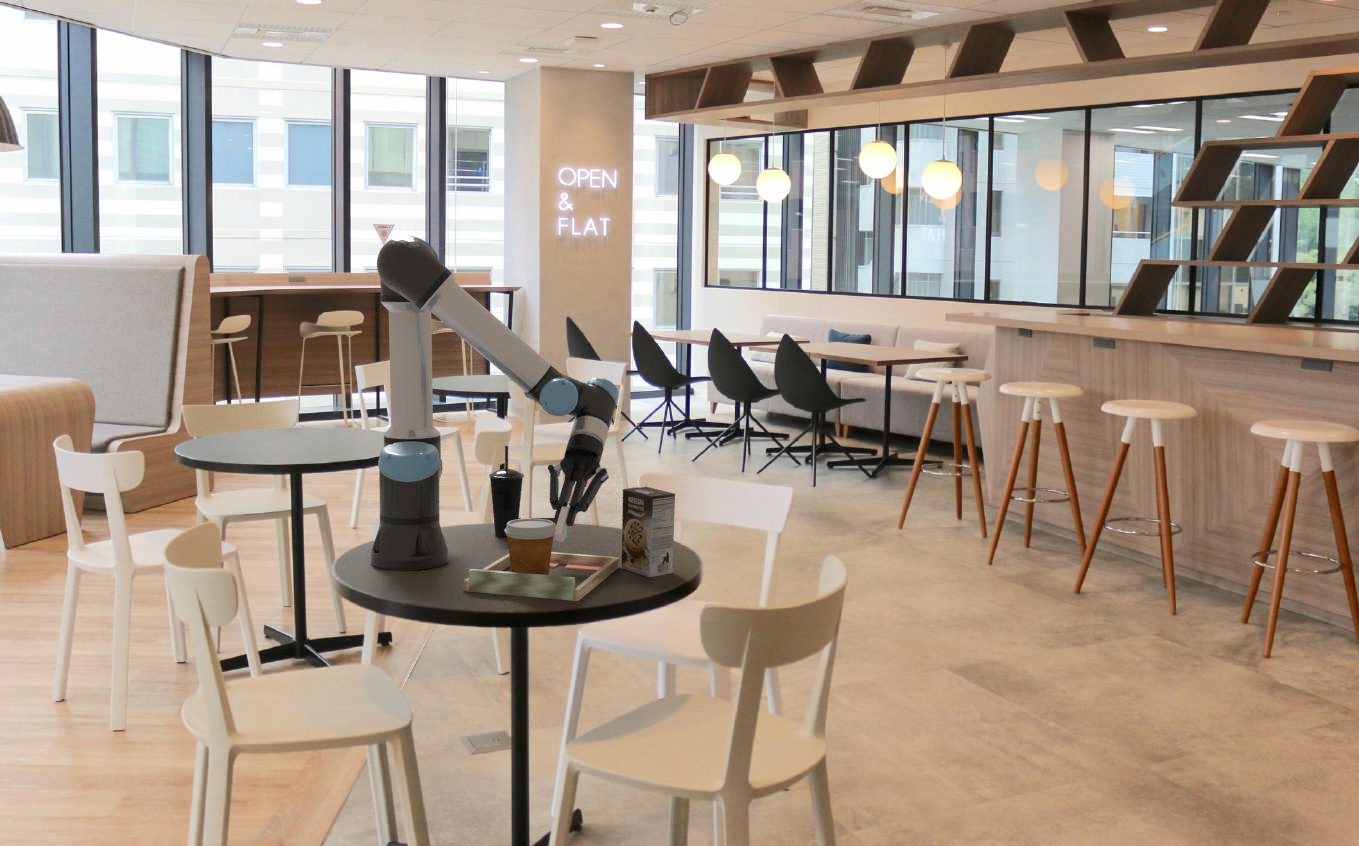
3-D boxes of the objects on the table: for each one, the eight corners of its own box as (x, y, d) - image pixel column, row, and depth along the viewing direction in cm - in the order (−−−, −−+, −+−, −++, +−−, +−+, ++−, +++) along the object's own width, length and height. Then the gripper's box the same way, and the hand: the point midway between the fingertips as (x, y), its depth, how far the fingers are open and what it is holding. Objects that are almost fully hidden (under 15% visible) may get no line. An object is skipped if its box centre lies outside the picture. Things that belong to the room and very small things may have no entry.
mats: (516, 564, 236) (516, 563, 236) (523, 560, 240) (523, 559, 240) (603, 571, 232) (603, 570, 232) (608, 567, 236) (608, 566, 235)
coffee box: (619, 568, 235) (621, 488, 233) (644, 564, 239) (646, 485, 237) (649, 578, 228) (650, 495, 226) (674, 573, 232) (676, 492, 230)
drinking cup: (530, 534, 264) (531, 445, 261) (508, 540, 257) (508, 449, 255) (504, 529, 268) (504, 442, 265) (481, 535, 261) (481, 446, 259)
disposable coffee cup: (557, 579, 225) (558, 518, 224) (553, 593, 216) (554, 528, 214) (507, 579, 225) (507, 517, 223) (501, 592, 215) (501, 528, 214)
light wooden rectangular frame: (463, 590, 216) (463, 569, 215) (515, 558, 241) (515, 539, 241) (578, 601, 211) (578, 579, 210) (619, 567, 236) (619, 547, 236)
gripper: (619, 455, 248) (594, 550, 234) (561, 452, 251) (532, 545, 237) (613, 433, 243) (586, 529, 229) (553, 430, 246) (523, 524, 232)
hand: (558, 537), depth 233 cm, fingers closed
